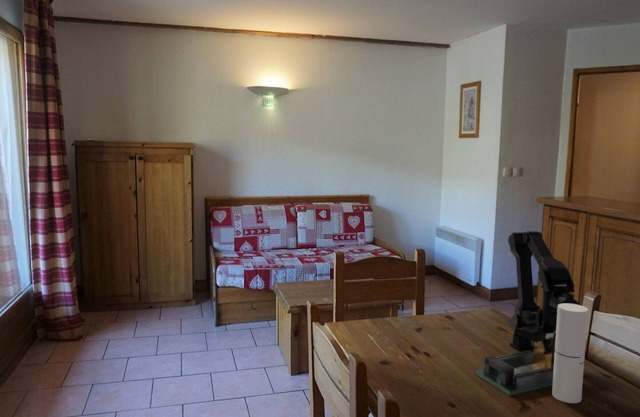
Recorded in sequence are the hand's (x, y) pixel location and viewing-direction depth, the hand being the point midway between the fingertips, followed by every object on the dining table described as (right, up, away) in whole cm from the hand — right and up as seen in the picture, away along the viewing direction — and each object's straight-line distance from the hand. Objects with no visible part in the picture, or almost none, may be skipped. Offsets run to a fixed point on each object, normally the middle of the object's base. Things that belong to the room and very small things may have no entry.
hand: (549, 357), depth 147 cm
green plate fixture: (-10, -5, -4) cm, 12 cm away
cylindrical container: (-2, -7, -14) cm, 16 cm away
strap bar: (-8, -3, -3) cm, 9 cm away
